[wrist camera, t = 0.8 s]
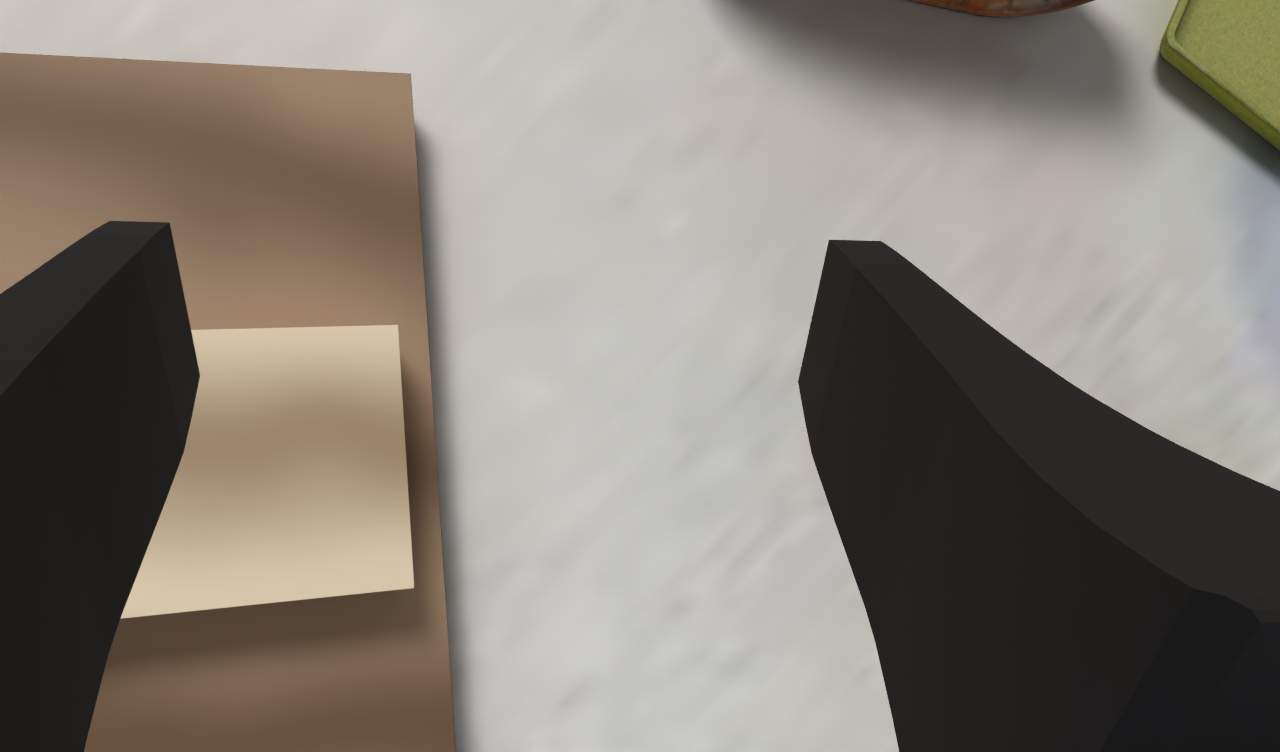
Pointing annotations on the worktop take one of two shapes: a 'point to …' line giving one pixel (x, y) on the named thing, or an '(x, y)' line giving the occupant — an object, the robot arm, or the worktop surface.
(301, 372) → the birch tile
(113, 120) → the board
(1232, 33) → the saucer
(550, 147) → the worktop surface
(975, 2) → the tin
